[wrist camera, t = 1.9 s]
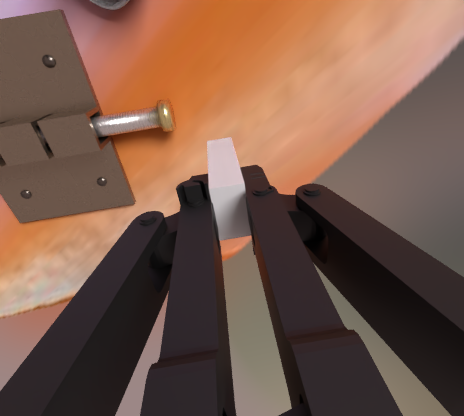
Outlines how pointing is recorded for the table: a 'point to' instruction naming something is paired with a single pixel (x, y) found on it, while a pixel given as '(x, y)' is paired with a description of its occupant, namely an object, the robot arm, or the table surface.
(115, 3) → the ceramic mug
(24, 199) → the hinge
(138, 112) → the pin
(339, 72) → the table surface
